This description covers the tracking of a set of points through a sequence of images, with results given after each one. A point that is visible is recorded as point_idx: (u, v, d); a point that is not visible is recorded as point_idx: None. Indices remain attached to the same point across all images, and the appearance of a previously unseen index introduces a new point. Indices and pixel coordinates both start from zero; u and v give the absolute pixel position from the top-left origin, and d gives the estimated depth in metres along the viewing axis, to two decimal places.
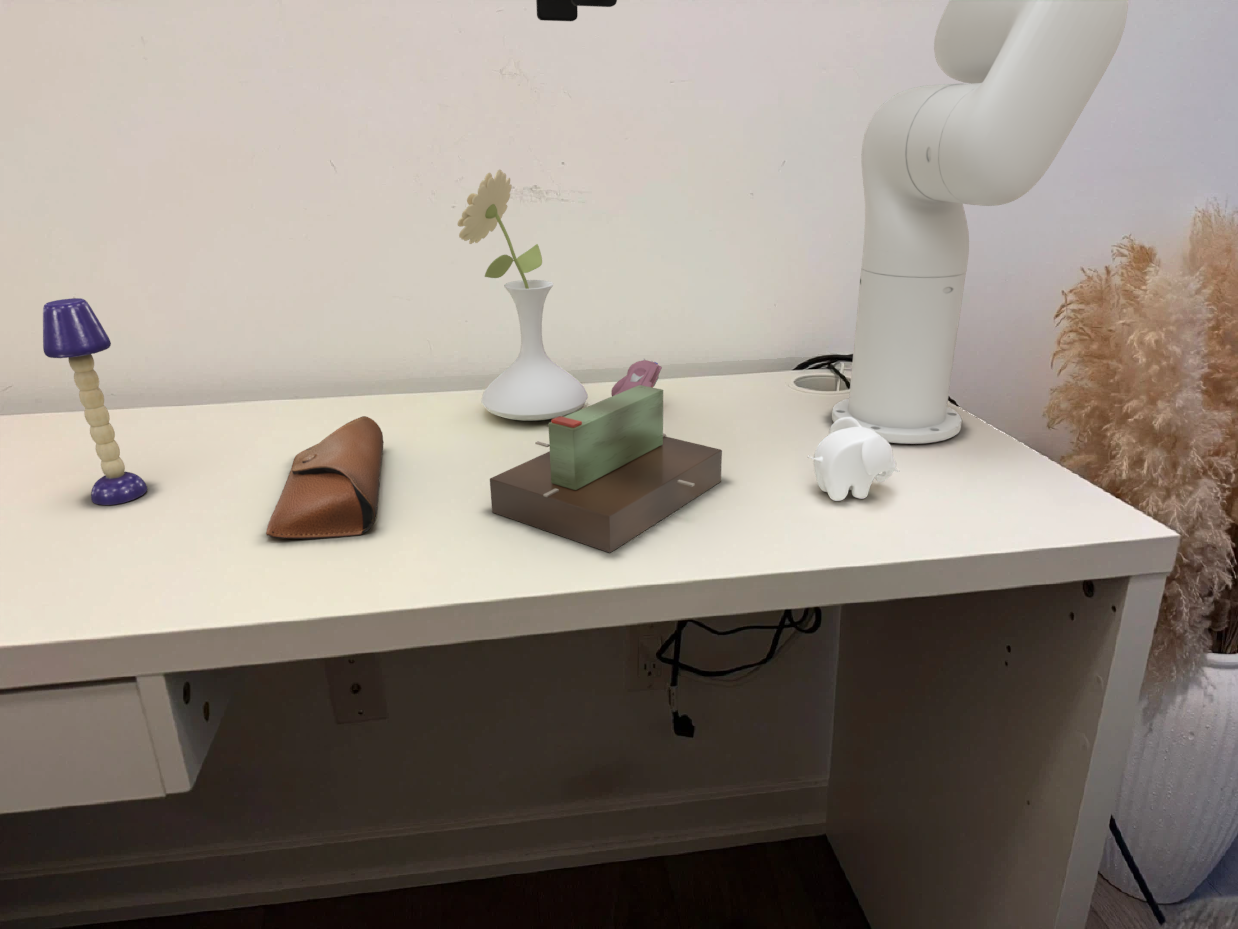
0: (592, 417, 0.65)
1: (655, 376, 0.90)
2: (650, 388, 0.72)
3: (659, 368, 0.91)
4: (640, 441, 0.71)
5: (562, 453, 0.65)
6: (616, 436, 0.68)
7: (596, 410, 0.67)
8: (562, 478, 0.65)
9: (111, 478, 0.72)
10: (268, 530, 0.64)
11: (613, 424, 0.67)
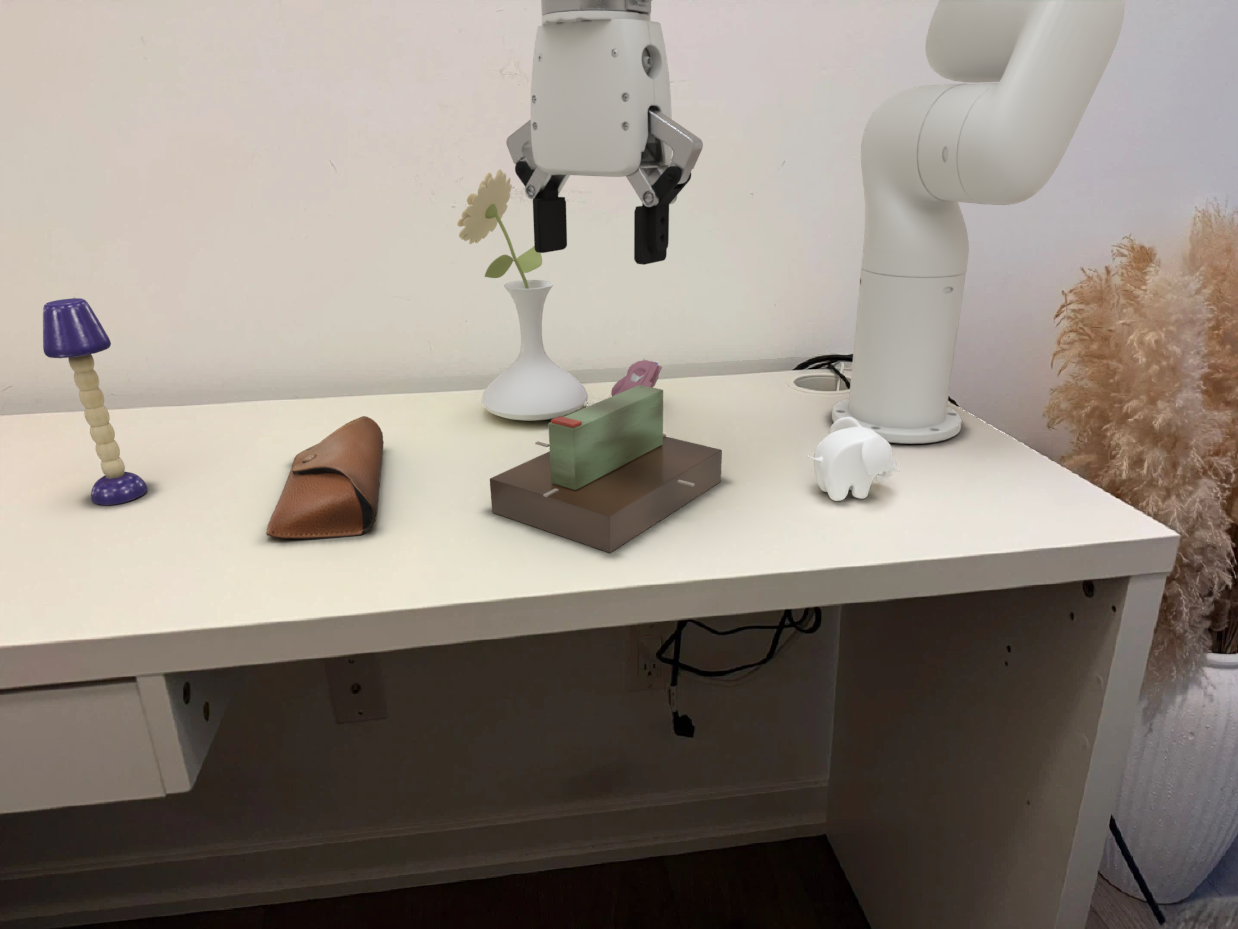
0: (592, 417, 0.65)
1: (655, 376, 0.90)
2: (650, 388, 0.72)
3: (659, 368, 0.91)
4: (640, 441, 0.71)
5: (562, 453, 0.65)
6: (616, 436, 0.68)
7: (596, 410, 0.67)
8: (562, 478, 0.65)
9: (111, 478, 0.72)
10: (268, 530, 0.64)
11: (613, 424, 0.67)
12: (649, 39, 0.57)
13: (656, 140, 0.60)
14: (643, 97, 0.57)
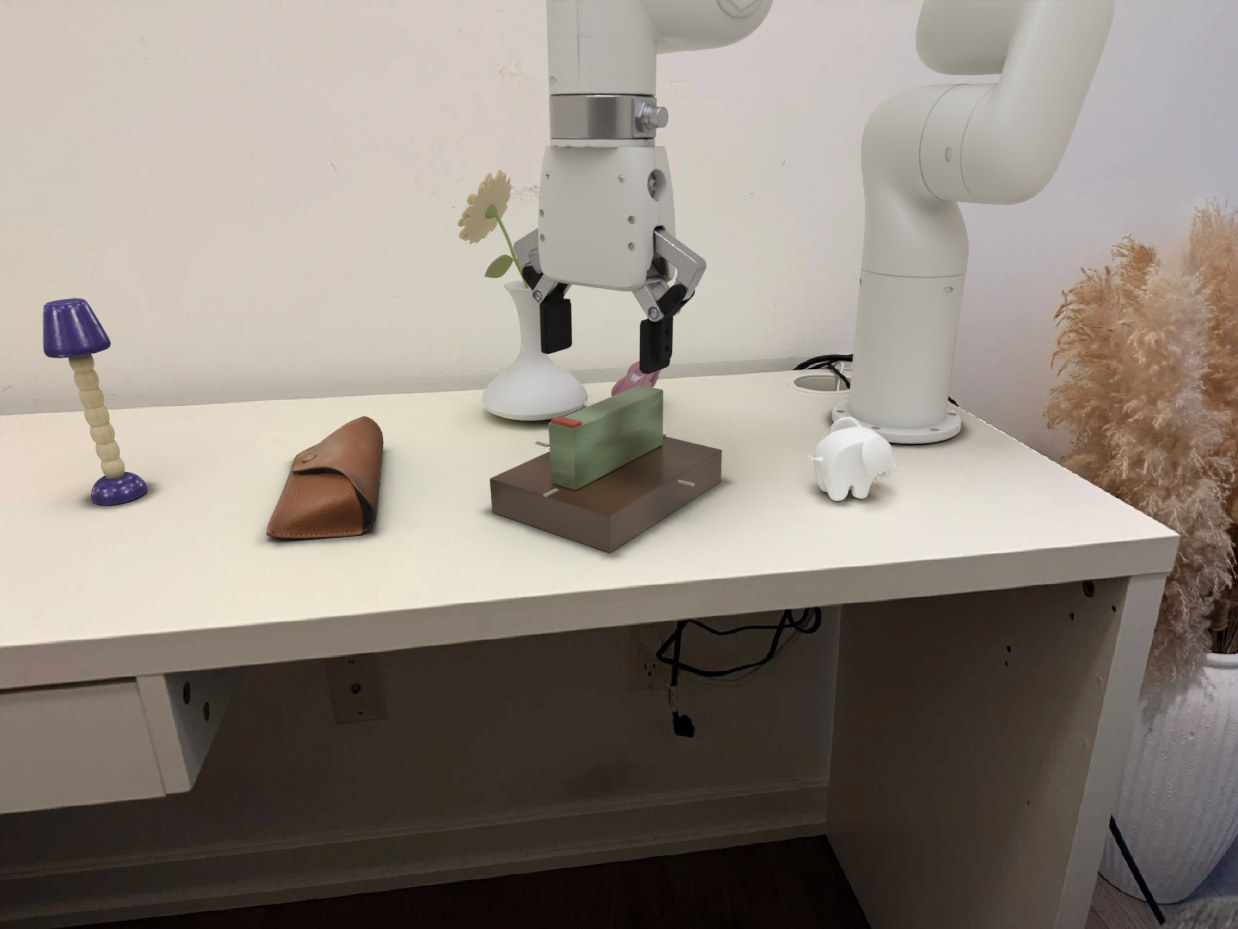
0: (592, 417, 0.65)
1: (655, 376, 0.90)
2: (650, 388, 0.72)
3: None
4: (640, 441, 0.71)
5: (562, 453, 0.65)
6: (616, 436, 0.68)
7: (596, 410, 0.67)
8: (562, 478, 0.65)
9: (111, 478, 0.72)
10: (268, 530, 0.64)
11: (613, 424, 0.67)
12: (654, 164, 0.59)
13: (660, 255, 0.62)
14: (649, 219, 0.59)
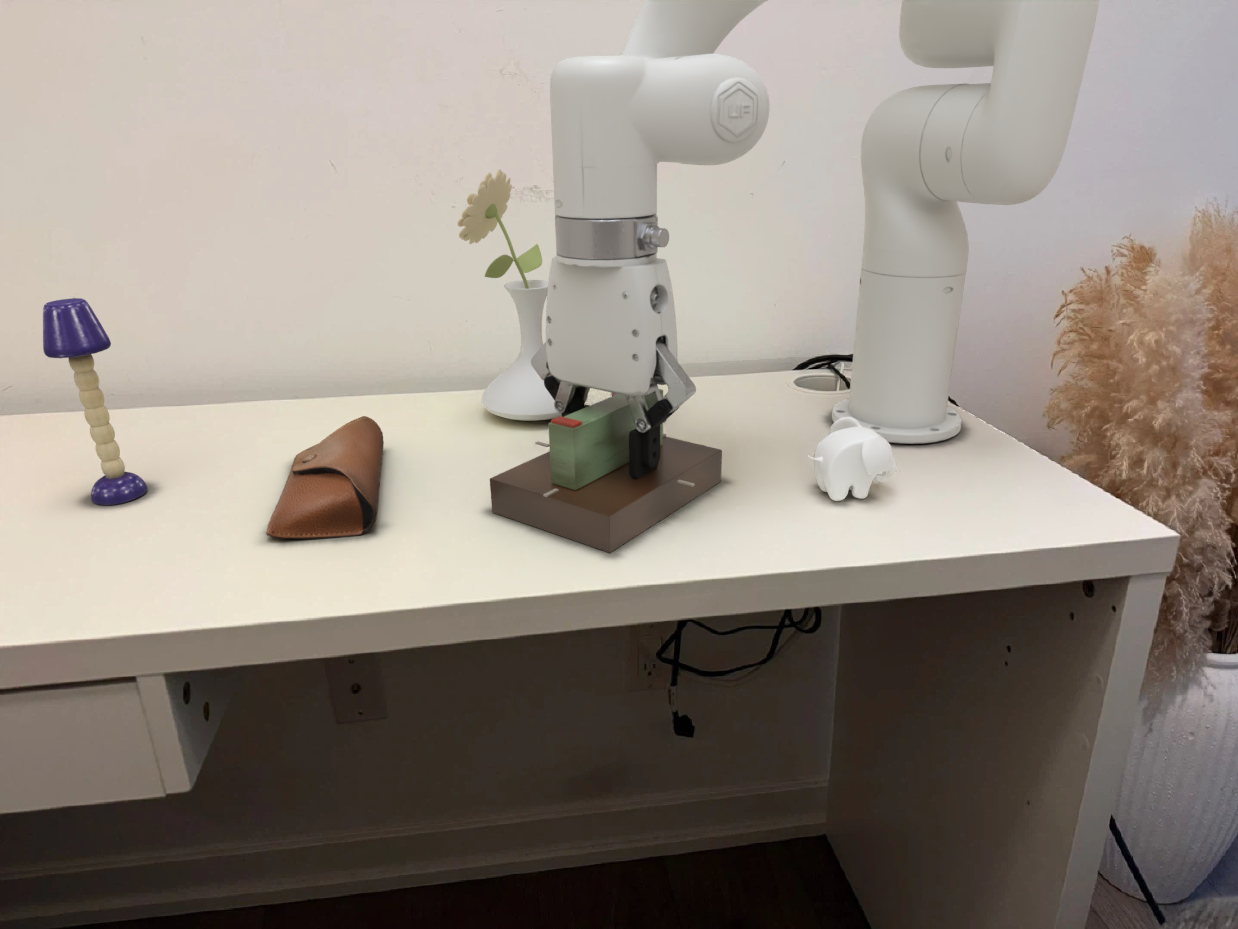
0: (592, 417, 0.65)
1: None
2: None
3: None
4: None
5: (562, 453, 0.65)
6: (616, 436, 0.68)
7: (596, 410, 0.67)
8: (562, 478, 0.65)
9: (111, 478, 0.72)
10: (268, 530, 0.64)
11: (613, 424, 0.67)
12: (656, 280, 0.62)
13: None
14: (651, 332, 0.62)
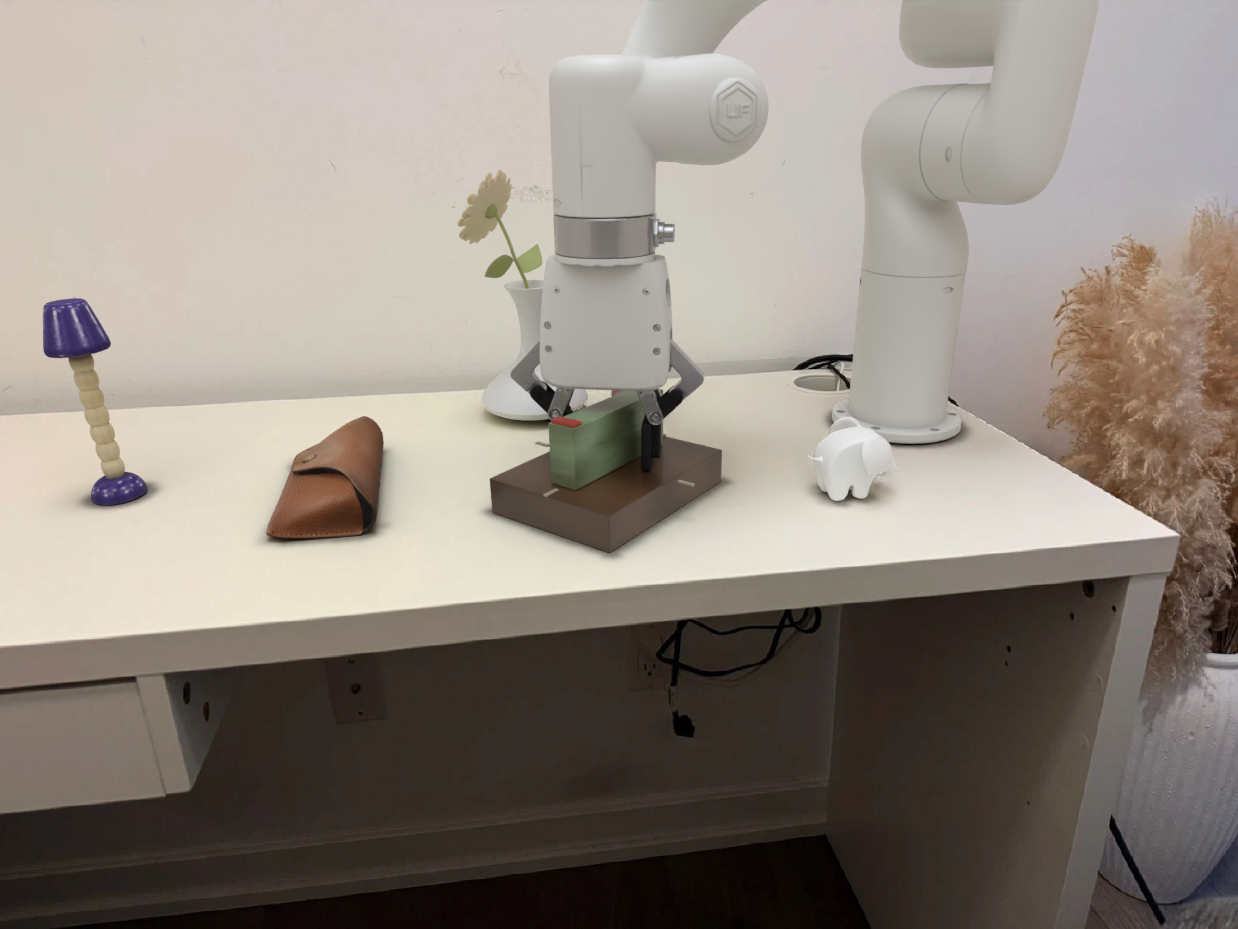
0: (592, 417, 0.65)
1: None
2: None
3: None
4: (640, 441, 0.71)
5: (562, 453, 0.65)
6: (616, 436, 0.68)
7: (596, 410, 0.67)
8: (562, 478, 0.65)
9: (111, 478, 0.72)
10: (268, 530, 0.64)
11: (613, 424, 0.67)
12: (666, 274, 0.64)
13: None
14: (668, 325, 0.64)
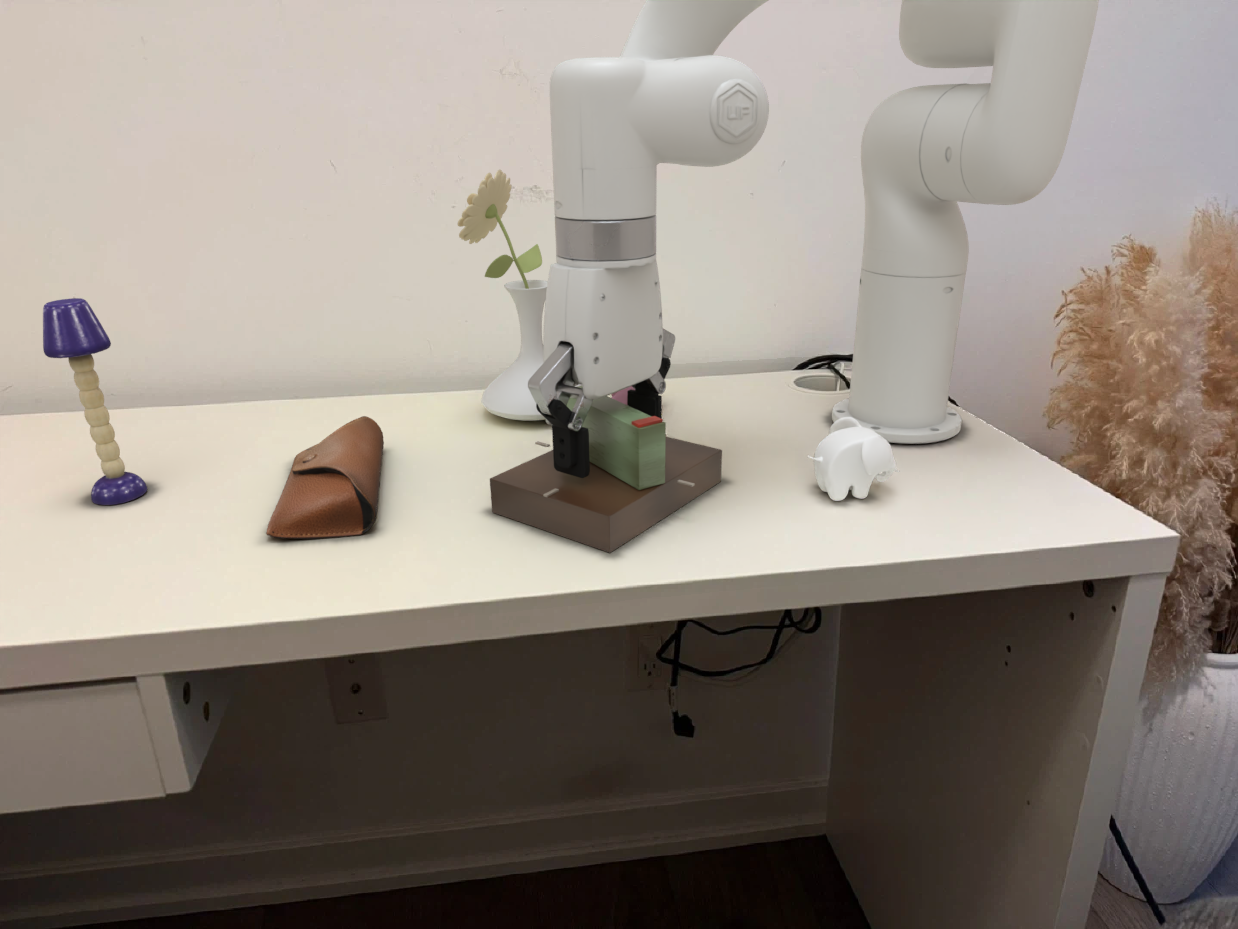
0: (639, 413, 0.66)
1: None
2: None
3: None
4: None
5: (653, 453, 0.64)
6: None
7: (619, 410, 0.67)
8: (651, 478, 0.65)
9: (111, 478, 0.72)
10: (268, 530, 0.64)
11: None
12: None
13: None
14: None
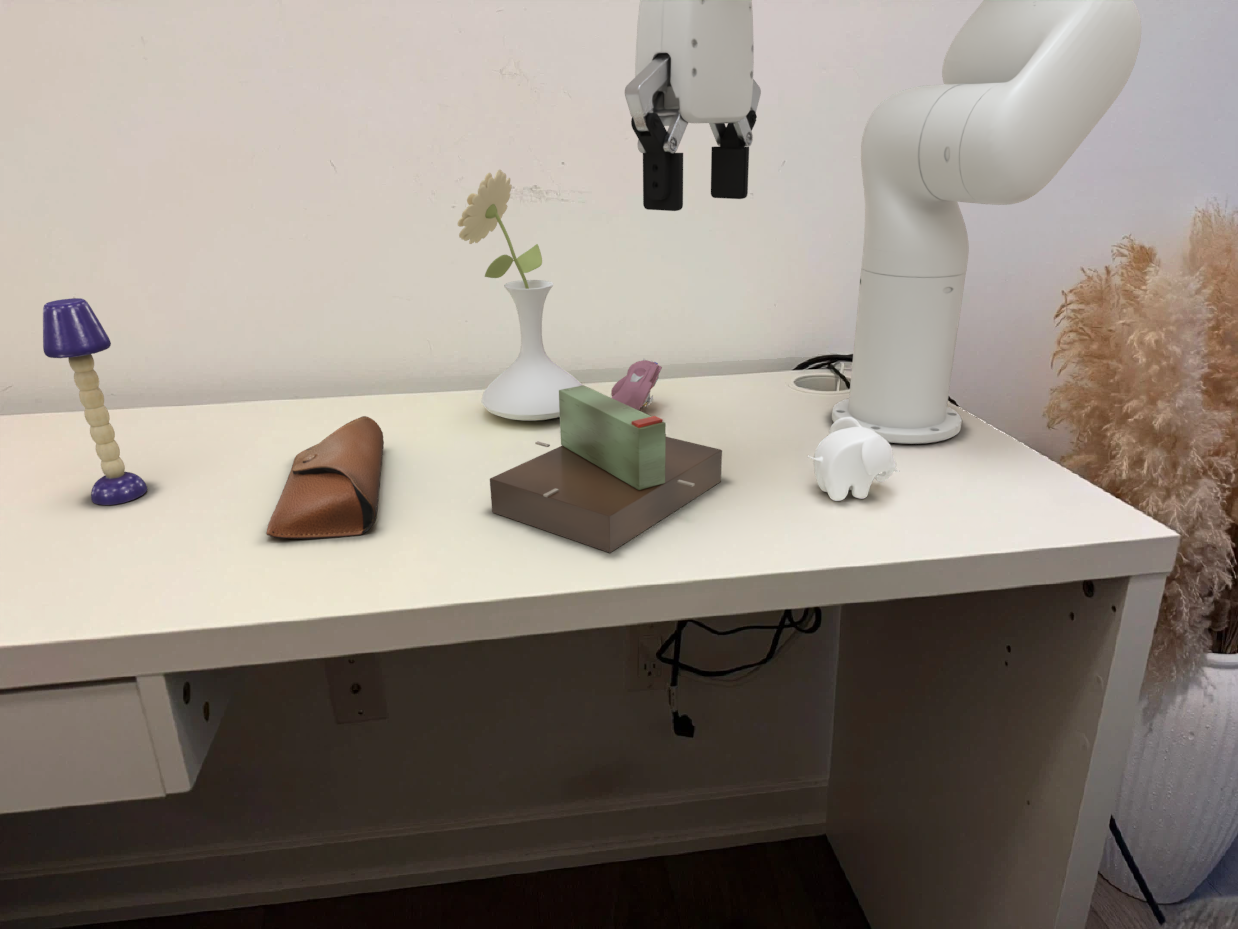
0: (639, 413, 0.66)
1: (655, 376, 0.90)
2: (575, 388, 0.73)
3: (659, 368, 0.91)
4: None
5: (653, 453, 0.64)
6: None
7: (619, 410, 0.67)
8: (651, 478, 0.65)
9: (111, 478, 0.72)
10: (268, 530, 0.64)
11: None
12: None
13: None
14: None
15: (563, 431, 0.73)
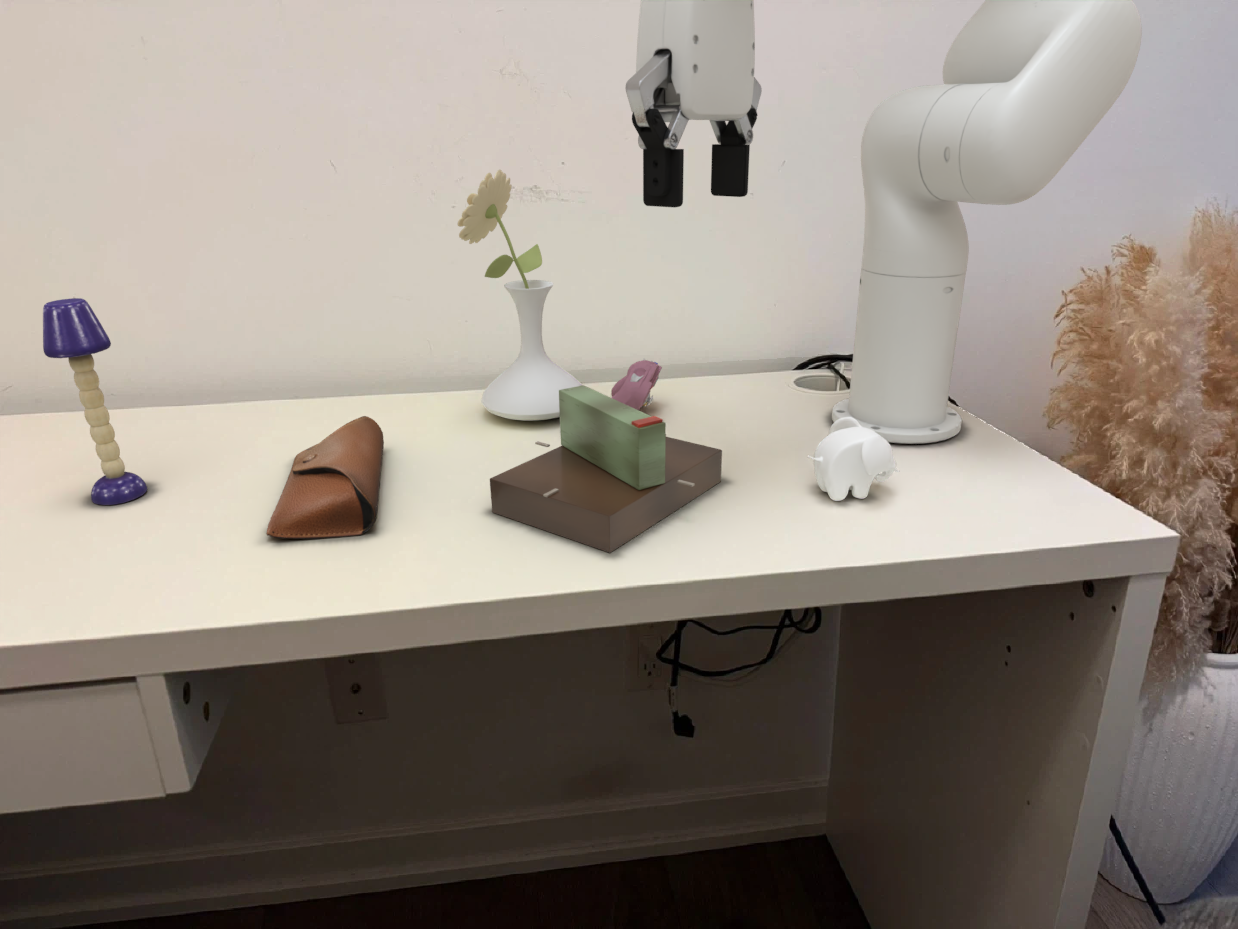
0: (639, 413, 0.66)
1: (655, 376, 0.90)
2: (575, 388, 0.73)
3: (659, 368, 0.91)
4: None
5: (653, 453, 0.64)
6: None
7: (619, 410, 0.67)
8: (651, 478, 0.65)
9: (111, 478, 0.72)
10: (268, 530, 0.64)
11: None
12: None
13: None
14: None
15: (563, 431, 0.73)
